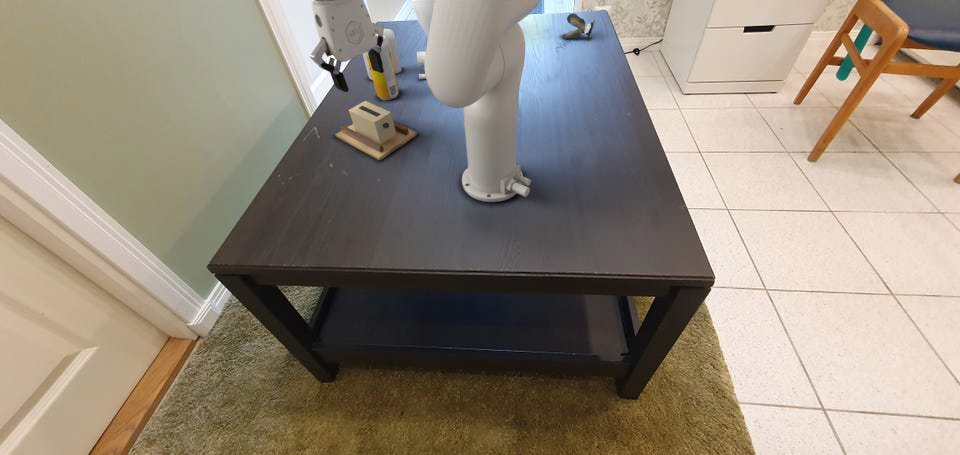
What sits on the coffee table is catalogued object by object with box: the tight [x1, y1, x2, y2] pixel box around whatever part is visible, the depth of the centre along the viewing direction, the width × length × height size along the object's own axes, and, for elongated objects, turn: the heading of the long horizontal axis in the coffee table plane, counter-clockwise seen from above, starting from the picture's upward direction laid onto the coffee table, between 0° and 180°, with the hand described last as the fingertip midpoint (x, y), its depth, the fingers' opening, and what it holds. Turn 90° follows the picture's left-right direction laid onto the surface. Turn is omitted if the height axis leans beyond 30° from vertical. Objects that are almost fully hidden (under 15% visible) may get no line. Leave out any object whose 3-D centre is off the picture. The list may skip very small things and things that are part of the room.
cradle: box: [334, 121, 418, 161], centre depth 89 cm, size 12×16×2 cm
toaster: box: [348, 100, 396, 145], centre depth 87 cm, size 5×10×6 cm, turn 52°
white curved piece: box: [362, 28, 402, 81], centre depth 107 cm, size 10×4×12 cm, turn 124°
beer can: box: [365, 36, 400, 101], centre depth 97 cm, size 6×6×15 cm
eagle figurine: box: [561, 13, 596, 40], centre depth 120 cm, size 8×7×9 cm
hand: (361, 80), depth 79 cm, fingers open, 9 cm apart
